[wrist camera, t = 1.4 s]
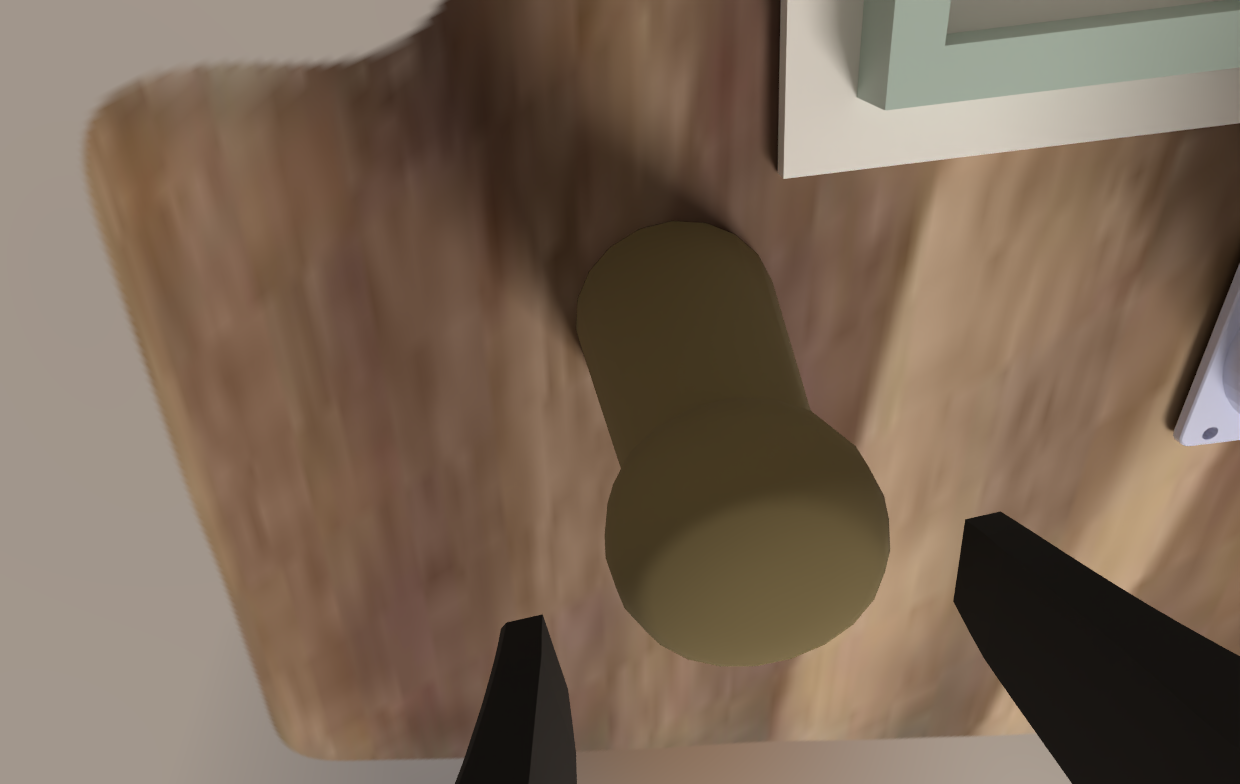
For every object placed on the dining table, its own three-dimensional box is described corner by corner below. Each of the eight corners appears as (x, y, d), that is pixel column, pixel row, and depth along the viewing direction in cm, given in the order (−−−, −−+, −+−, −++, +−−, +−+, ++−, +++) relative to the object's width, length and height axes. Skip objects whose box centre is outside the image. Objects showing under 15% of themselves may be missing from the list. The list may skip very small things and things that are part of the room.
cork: (621, 429, 23) (660, 750, 14) (541, 270, 20) (519, 545, 10) (798, 362, 22) (969, 656, 13) (741, 185, 19) (914, 402, 10)
